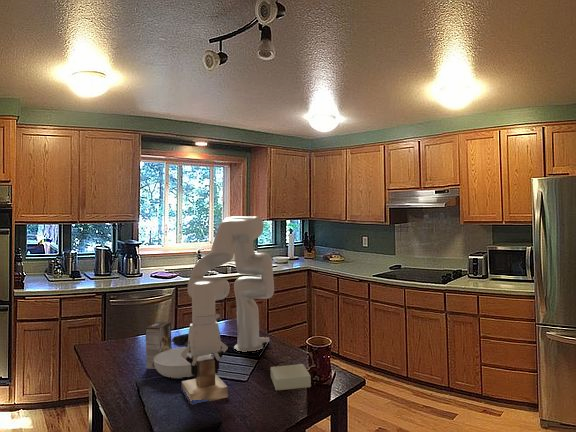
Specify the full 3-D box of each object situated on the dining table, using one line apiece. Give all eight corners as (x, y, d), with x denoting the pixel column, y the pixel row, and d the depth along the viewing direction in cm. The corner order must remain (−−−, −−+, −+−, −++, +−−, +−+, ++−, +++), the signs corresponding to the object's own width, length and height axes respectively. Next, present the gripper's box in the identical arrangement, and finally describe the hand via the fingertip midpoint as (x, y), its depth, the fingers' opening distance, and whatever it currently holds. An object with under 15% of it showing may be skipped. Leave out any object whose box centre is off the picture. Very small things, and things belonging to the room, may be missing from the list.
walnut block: (210, 379, 140) (210, 356, 140) (215, 385, 136) (214, 360, 136) (196, 382, 138) (195, 358, 138) (200, 388, 134) (199, 363, 134)
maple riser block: (216, 385, 145) (216, 374, 145) (227, 399, 134) (227, 386, 134) (181, 393, 140) (181, 381, 140) (190, 407, 129) (190, 394, 129)
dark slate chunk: (225, 338, 201) (224, 328, 201) (183, 348, 187) (183, 338, 186) (208, 331, 213) (207, 322, 213) (167, 341, 198) (167, 331, 198)
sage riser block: (303, 374, 153) (302, 363, 153) (311, 387, 141) (310, 376, 141) (270, 378, 150) (270, 367, 150) (275, 391, 139) (275, 379, 139)
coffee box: (157, 360, 170) (156, 321, 170) (172, 361, 169) (171, 321, 169) (145, 368, 161) (144, 327, 161) (161, 369, 160) (160, 328, 160)
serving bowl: (182, 389, 141) (182, 369, 141) (141, 378, 152) (141, 359, 152) (223, 369, 159) (222, 351, 159) (183, 360, 170) (183, 343, 170)
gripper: (225, 313, 144) (226, 365, 144) (174, 320, 136) (176, 375, 136) (232, 318, 138) (234, 372, 138) (180, 325, 129) (181, 383, 130)
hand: (205, 373), depth 137 cm, fingers open, 6 cm apart
